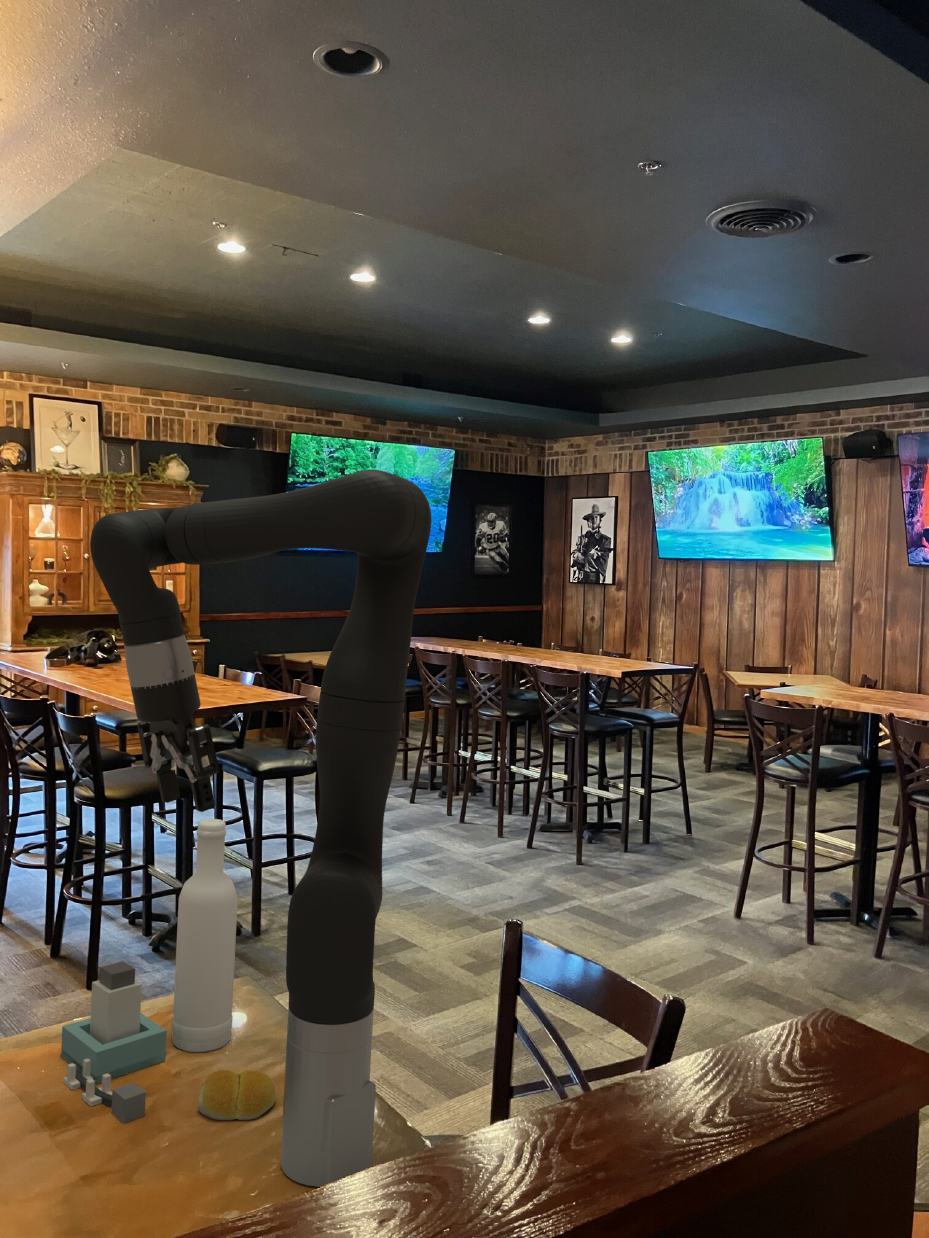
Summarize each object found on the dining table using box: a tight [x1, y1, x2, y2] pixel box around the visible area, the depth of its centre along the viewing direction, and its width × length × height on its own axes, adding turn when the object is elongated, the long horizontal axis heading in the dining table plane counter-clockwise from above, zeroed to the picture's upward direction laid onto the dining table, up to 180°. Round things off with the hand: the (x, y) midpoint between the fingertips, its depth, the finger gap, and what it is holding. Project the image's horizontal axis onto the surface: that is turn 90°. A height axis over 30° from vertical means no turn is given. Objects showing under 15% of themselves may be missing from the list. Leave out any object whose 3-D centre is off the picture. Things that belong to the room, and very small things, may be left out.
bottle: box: [171, 818, 239, 1053], centre depth 133 cm, size 8×8×30 cm
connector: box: [90, 960, 143, 1045], centre depth 127 cm, size 4×4×11 cm
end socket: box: [60, 1012, 168, 1086], centre depth 127 cm, size 10×10×4 cm
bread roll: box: [198, 1069, 277, 1121], centre depth 118 cm, size 8×9×4 cm
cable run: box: [62, 1058, 147, 1124], centre depth 118 cm, size 14×4×3 cm, turn 47°
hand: (188, 804), depth 120 cm, fingers open, 8 cm apart
